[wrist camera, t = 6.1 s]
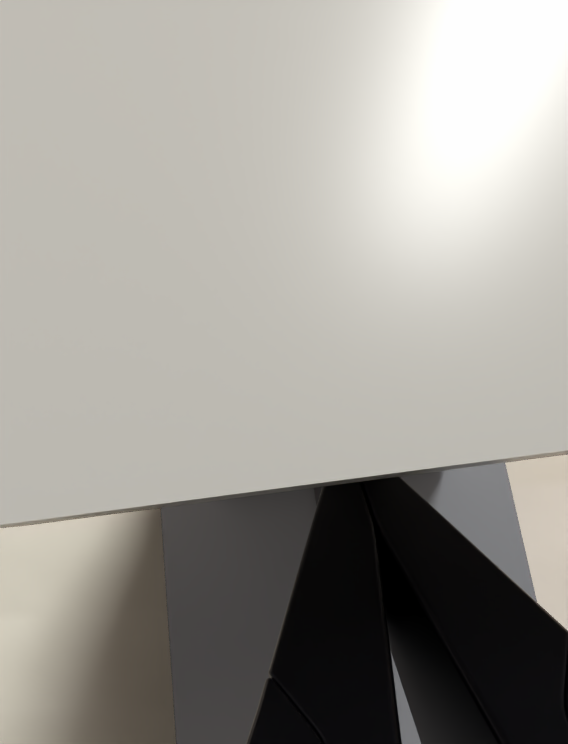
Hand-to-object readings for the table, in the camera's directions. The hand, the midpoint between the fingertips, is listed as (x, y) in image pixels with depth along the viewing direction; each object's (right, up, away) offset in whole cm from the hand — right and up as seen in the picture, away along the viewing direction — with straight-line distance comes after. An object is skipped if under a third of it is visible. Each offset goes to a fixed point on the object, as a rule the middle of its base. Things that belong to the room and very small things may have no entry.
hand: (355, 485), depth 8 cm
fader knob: (0, +1, +6) cm, 6 cm away
